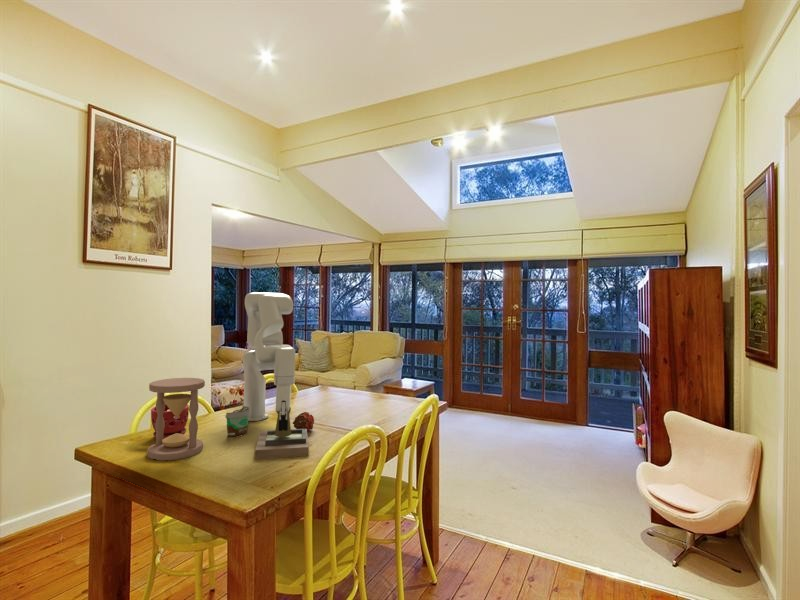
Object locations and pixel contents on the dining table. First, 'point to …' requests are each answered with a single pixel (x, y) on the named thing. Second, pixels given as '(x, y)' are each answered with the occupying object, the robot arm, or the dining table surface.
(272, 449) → the dock
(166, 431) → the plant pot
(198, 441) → the hourglass
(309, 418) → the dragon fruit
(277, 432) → the brown rounded bulbous piece
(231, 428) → the food container
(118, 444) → the dining table surface
